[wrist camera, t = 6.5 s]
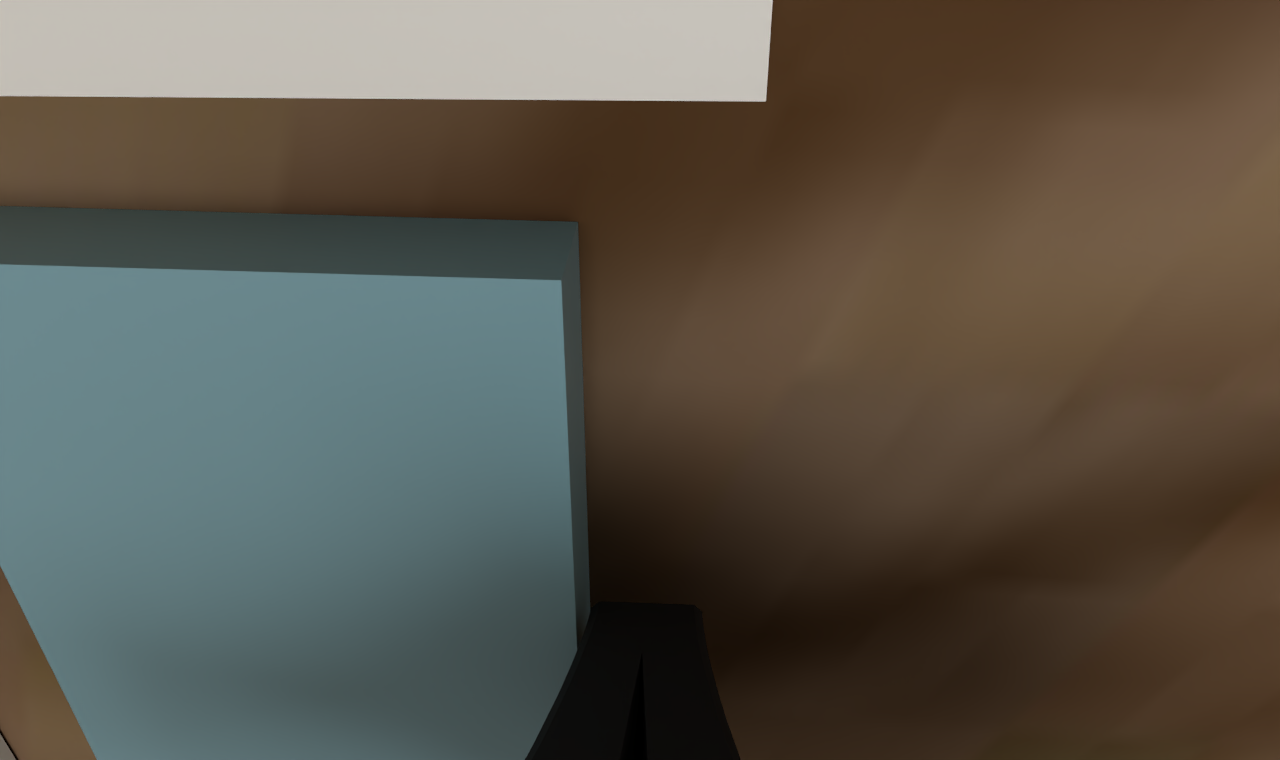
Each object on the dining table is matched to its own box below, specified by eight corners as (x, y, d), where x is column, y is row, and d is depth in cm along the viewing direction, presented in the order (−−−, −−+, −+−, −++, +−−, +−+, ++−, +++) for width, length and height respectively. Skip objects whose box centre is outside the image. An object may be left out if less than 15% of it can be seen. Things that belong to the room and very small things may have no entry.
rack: (702, 925, 17) (702, 1116, 15) (39, 890, 18) (-70, 1068, 15) (760, -97, 8) (790, -54, 5) (-621, -92, 9) (-1165, -51, 6)
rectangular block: (599, 791, 16) (587, 906, 14) (213, 772, 16) (158, 883, 15) (583, 203, 10) (561, 280, 9) (-15, 189, 10) (-153, 260, 9)
